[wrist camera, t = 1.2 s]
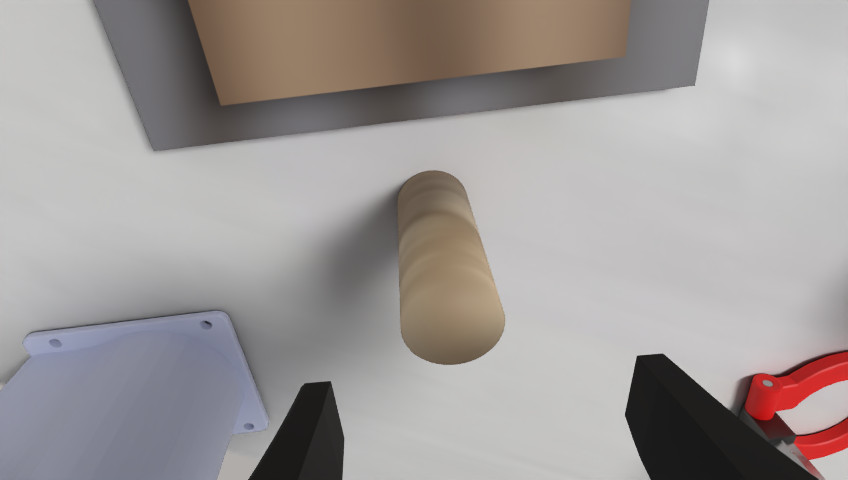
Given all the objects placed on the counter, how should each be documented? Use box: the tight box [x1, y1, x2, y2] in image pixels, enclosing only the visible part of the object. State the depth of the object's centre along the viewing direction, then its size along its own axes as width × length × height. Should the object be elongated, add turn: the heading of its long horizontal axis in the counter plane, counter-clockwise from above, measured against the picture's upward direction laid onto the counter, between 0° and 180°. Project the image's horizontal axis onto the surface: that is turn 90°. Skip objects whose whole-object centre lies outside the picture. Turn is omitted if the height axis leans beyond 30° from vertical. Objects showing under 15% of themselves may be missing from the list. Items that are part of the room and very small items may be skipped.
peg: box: [397, 171, 505, 365], centre depth 18 cm, size 3×3×8 cm
